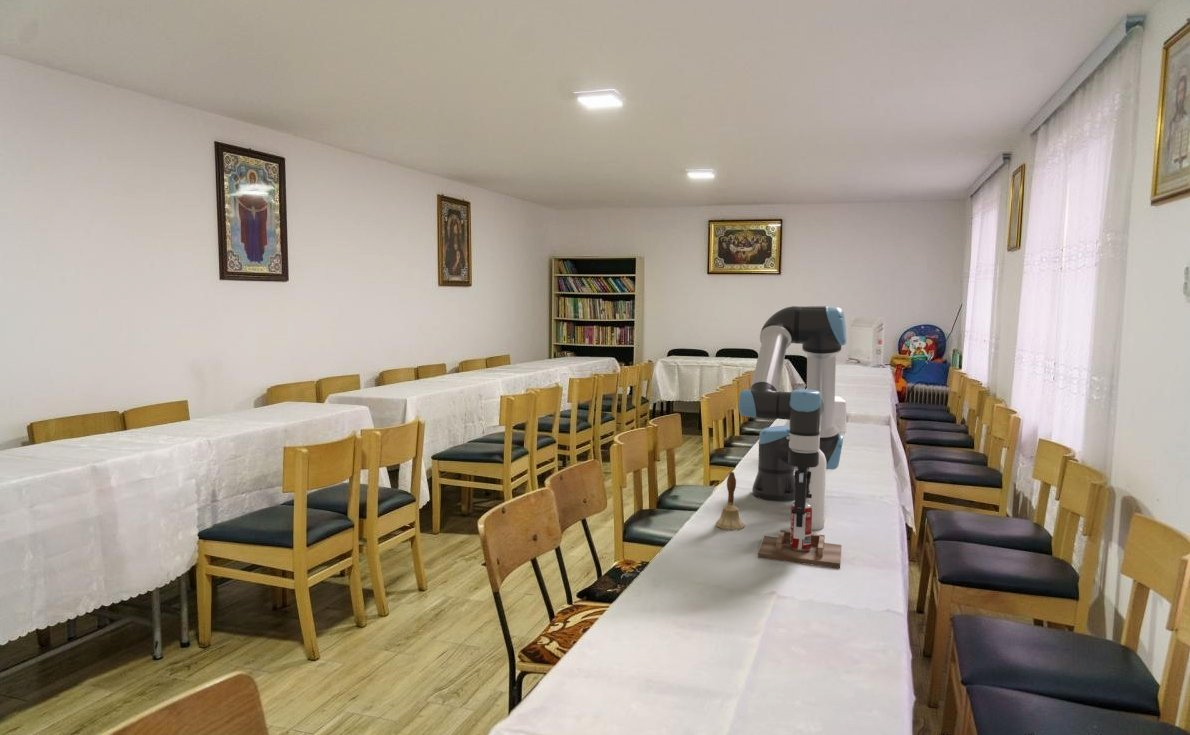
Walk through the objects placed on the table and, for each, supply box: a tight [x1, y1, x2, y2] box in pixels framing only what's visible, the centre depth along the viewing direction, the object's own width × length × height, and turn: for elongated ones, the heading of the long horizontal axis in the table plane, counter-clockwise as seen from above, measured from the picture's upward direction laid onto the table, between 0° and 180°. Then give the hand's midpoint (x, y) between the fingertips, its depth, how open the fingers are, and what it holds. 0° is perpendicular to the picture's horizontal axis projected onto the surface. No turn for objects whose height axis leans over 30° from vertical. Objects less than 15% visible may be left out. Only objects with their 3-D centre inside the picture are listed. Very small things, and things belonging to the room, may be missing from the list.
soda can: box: [789, 501, 812, 552], centre depth 182 cm, size 5×5×12 cm
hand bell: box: [715, 471, 745, 531], centre depth 204 cm, size 8×8×16 cm
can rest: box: [757, 529, 842, 569], centre depth 183 cm, size 14×20×4 cm
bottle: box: [807, 430, 827, 531], centre depth 204 cm, size 8×8×30 cm
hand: (801, 530), depth 182 cm, fingers open, 13 cm apart
